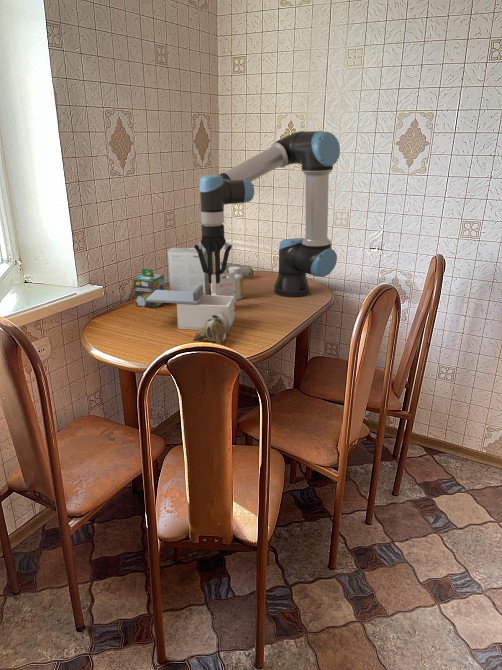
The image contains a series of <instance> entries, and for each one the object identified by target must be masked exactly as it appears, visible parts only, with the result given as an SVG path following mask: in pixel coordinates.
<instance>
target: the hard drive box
mask: <svg viewBox="0 0 502 670" xmlns="http://www.w3.org/2000/svg"><path fill="white" fill-rule="evenodd" d="M202 250H203V254H204V257H205V261H206V265H207V268H208V257H207V251H206V249H205V248H204V247H202ZM166 256H167V269H168V270H167V272H168V286H169V287H168V288H169V290H171V291H195V290H196V289H197V288H198V286H199V285H203V292H204V295H210V283H209V278H208V274H207V273H204V272H203V270H202V266H201V263H200V259H199V256H198V252H197V250H196V249H195V247H171V248H170V249H168V250H167V251H166Z"/></svg>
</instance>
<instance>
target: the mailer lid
mask: <svg viewBox="0 0 502 670" xmlns="http://www.w3.org/2000/svg"><path fill="white" fill-rule="evenodd" d="M203 295H204V292H203V285H199V286H198V288H197V289H196V290H195V291H171V290H170V289H169V290H168V289H165V290H155V291H154V292H153V293H152V294H151V295H150V296H149V297H148V298H147V299H146V302H161V303H162V304H165V303H167V304H168V303H169V304H177V303H182V304H197V303H198V302H199V300H200V299H201V298H202V296H203Z"/></svg>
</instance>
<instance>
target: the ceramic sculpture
mask: <svg viewBox="0 0 502 670" xmlns="http://www.w3.org/2000/svg"><path fill="white" fill-rule="evenodd" d="M229 328H230V324H229V322H228V320H227V319H226V317H225V316H224V315H223V313H222V312H221V313H220V314H218V315H213V316H212V317H211V318H210V319H209V320H208V321H207V322H206V323H205V324H204V327H203V329H202V330H197V332H196V333H195V334H194V336H193V337H194V338H193V339H192V341H193V342H202V341H204V340H205V339H206V340H207V341H209V342H216V343H217V344H219V345H222V344H223V343H226V341H227V336H228V333H229V332H230V330H229ZM230 329H231V328H230Z"/></svg>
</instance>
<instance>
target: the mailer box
mask: <svg viewBox="0 0 502 670" xmlns="http://www.w3.org/2000/svg"><path fill="white" fill-rule="evenodd" d="M176 311H177V313H176V314H177V329H179V330H181V329H182V330H194V331H195V330H196V331H199V330H202V329H203V327H204V324H205V323H206V322H207V321H208V320H209V319H210V318H211V317H212V316H213V315H218V314H220V313H221V312H222V313H223V315H224V316H225V317H226V319H227V320H228V322H229V324H230V327H231V328H232V325H233V323H234V322H235V309H234V296H218V295H211V294H209V295H203V296H202V298H201V299H200V300H199V302H198V303H197V304H182V303H176ZM231 328H229V329H231Z"/></svg>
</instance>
